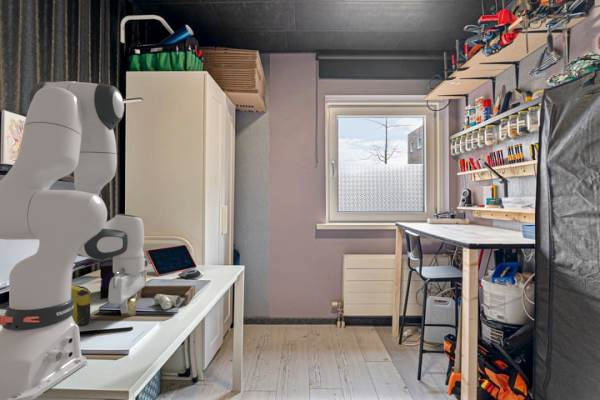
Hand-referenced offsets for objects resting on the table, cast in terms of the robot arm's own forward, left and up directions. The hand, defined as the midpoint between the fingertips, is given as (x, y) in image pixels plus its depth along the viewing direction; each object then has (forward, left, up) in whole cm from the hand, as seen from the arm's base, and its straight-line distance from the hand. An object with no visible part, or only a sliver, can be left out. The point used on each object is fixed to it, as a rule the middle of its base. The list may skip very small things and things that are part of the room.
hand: (128, 309), depth 110 cm
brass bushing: (0, 0, -2) cm, 2 cm away
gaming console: (-1, +18, -2) cm, 18 cm away
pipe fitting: (+8, -9, -2) cm, 12 cm away
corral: (+15, -6, -2) cm, 16 cm away
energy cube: (+24, +13, -2) cm, 27 cm away
